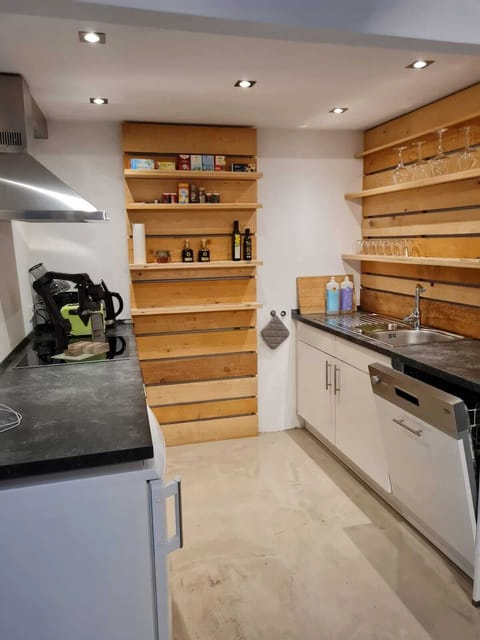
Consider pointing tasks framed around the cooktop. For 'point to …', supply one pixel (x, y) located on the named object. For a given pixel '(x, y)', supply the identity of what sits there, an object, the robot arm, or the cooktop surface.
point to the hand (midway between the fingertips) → (86, 326)
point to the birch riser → (90, 347)
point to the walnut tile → (73, 352)
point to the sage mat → (62, 356)
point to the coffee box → (97, 327)
